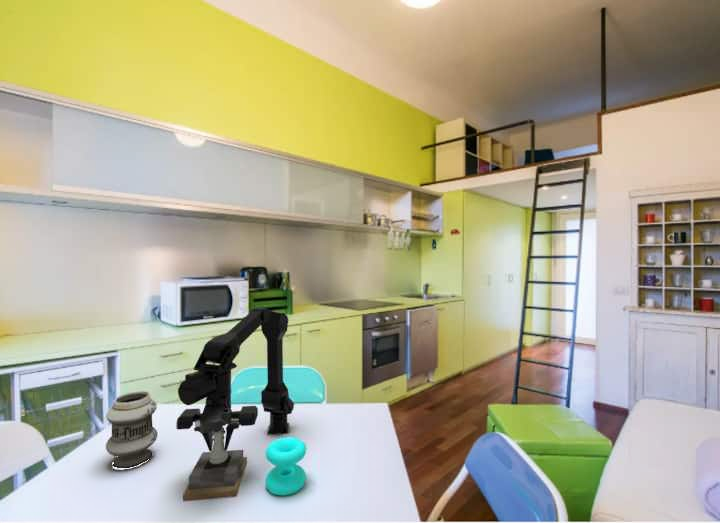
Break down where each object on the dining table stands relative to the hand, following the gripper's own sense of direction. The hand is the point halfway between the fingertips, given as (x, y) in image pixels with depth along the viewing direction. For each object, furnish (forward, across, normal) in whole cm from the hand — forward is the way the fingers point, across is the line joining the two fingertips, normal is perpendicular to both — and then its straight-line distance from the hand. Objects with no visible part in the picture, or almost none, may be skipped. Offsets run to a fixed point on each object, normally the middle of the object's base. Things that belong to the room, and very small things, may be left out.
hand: (218, 450), depth 88 cm
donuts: (+8, +17, -4) cm, 19 cm away
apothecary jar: (+8, -26, +12) cm, 30 cm away
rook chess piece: (+3, 0, 0) cm, 3 cm away
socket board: (+8, 0, 0) cm, 8 cm away
